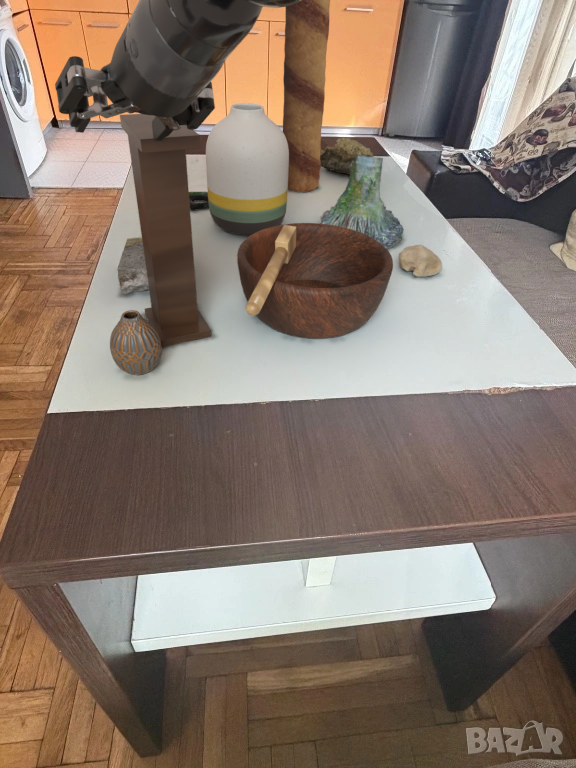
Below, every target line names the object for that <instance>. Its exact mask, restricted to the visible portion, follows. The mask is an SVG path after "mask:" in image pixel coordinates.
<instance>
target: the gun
mask: <svg viewBox="0 0 576 768" xmlns="http://www.w3.org/2000/svg"><path fill="white" fill-rule="evenodd" d="M189 202H190V211H199V210H207V209H209V203H208V191H189Z"/></svg>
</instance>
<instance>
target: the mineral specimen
mask: <svg viewBox="0 0 576 768" xmlns="http://www.w3.org/2000/svg"><path fill="white" fill-rule="evenodd" d="M335 142H336V143H335V144H333V146H328V145H327V146H326V147H325V149H324V150H323V149H322V148H321V153H320V163H321V168H322V169H325V170H327V171H328V172H330V171H331V170H332V171H333V172H337V173H339V174H347V175H349V176H350V174H351V170H352V167H353V163H354V159H355V156H365V157H375V156H374V153H373V152H371V148H369V147H366V146H365V145H363V144H362V143H360V142H358V141H357V140H356V139H353V138H351V137H341V138H338V139H337V140H335Z"/></svg>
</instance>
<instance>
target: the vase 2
mask: <svg viewBox="0 0 576 768" xmlns="http://www.w3.org/2000/svg"><path fill="white" fill-rule="evenodd" d="M205 168H206V169H205V170H206V182H207V183H206V187H207V192H208V203H209V208H208V210H209V214H210V216H211V218H212V220H213V222H214V224H215V225H216V226H217V227H218V228H220V229H222V230H223V231H225V232H227V233H230V234H233V235H239V236H251V235H252V234H254V233H256V232H258V231H260V230H263V229H266V228H269V227H273V226H278V225H282V222H283V221H284V219H285V216H286V212H287V207H288V206H287V205H288V191H289V189H288V169H289V149H288V143H287V140H286V137H285V135H284V133H283V129H281V128H280V127H279V126H278V125H277V123H275V122H274V121H273V120H272V119H271V118H269V117H268V116H267V114H266V112H265V107H264V106H263V105H261V104H259V103H253V102H252V103H251V102H239V103H238V102H237V103H234V104H231V105H230V110H229V113H228V114H227V115H226V116H225V117H223V118H222V119H221V120H219V121H218V122H217V123H216V124H215V125H214V126H213V127H212V128H211V130H210V132H209V134H208V137H207V140H206V145H205Z"/></svg>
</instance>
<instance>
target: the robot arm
mask: <svg viewBox="0 0 576 768" xmlns="http://www.w3.org/2000/svg"><path fill="white" fill-rule="evenodd" d="M299 1H301V0H138V2H137V4H136V5H135V8H134V10H133V12H132V14H131V15H130V17H129V20H128V21H127V23H126V25H125V27H124V29H123V31H122V32H121V35H120V37H119V39H118V41H117V42H116V44H115V47H114V50H113V53H112V55H111V56H112V57H111V59H110V62H109V63H108V64H106V65H103V66H102V67H101V68H100V70H99V69H94V68H89V67H85V65H84V59H83V58H82V57H80V56H76V55H75V56H74V55H73V56H69V57H68V59H67V61H66V63H65V64H64V67H63V68H62V70H61V72H60V74H59V76H58V78H57V80H56V81H55V83H54V88H55V91H56V96H57V97H56V98H57V103H58V112H59V113H60V114H63V115H68V119H69V120H68V121H69V125H70V127H71V128H74V131H75V133H82V134H84V132H85V131H86V129H87V127H88V125H89V124H90V122H91V120H92V118H95V117H98V116H101V117H103V118H104V119H109V118H111V117H112V118H113V117H114V116H120V115H123V114H125V113H126V114H127V113H128V114H144V115H153V116H156V117H155V118H154V119H153V120H152V131H153V138H154V140H155V141H162V139H163V138H164V137H167V136H169V135H170V134H171V133H172V131H173V130H179V129H180V128H181V127H180V126H181V125H187V128H188V129H190V130H194V131H196V130H197V129H198V128H199V127H200V126H201V125H203V123H204V122H205V121H206V119H207V118H208V117H209V116H210V114H211V113H213V111H214V110H215V109H216V104H215V97H214V90H213V82H212V81H213V79H215V77H216V76H217V75H218V73H219V72H220V71H221V69H222V68H223V66H224V64H225V62H226V61H227V59H228V58H229V57H230V55H232V53H233V52H234V51H235V50H236V49H237V48H238V47H239V45H240V44H241V43H242V42H243V41H244V39H246V38H247V36H248V35H249V34H250V32H251V31H252V29H253V27H254V26H255V24H256V23H257V21H258V19H259V17H260V15H261V13H262V10H263V7H266V8H286V6H290V5H293V4H295V3H297V2H299ZM90 97H92V100H93V103H92V104H91V105H90V102H89V98H90ZM108 100H109V101H110V102H111V103H110V104H109V103H108Z"/></svg>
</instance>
